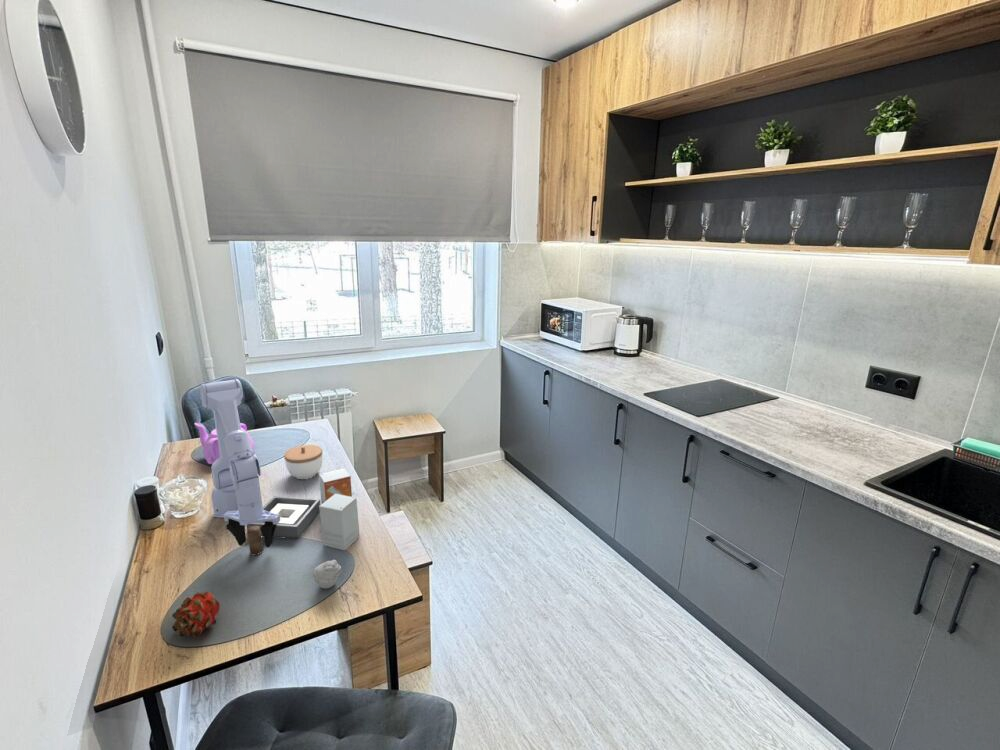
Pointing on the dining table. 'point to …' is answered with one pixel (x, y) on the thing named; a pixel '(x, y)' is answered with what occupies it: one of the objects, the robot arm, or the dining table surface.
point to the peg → (255, 539)
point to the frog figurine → (327, 574)
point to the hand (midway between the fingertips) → (255, 544)
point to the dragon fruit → (196, 614)
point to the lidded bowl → (303, 461)
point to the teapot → (214, 443)
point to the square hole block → (291, 515)
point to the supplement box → (339, 521)
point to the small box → (335, 484)
